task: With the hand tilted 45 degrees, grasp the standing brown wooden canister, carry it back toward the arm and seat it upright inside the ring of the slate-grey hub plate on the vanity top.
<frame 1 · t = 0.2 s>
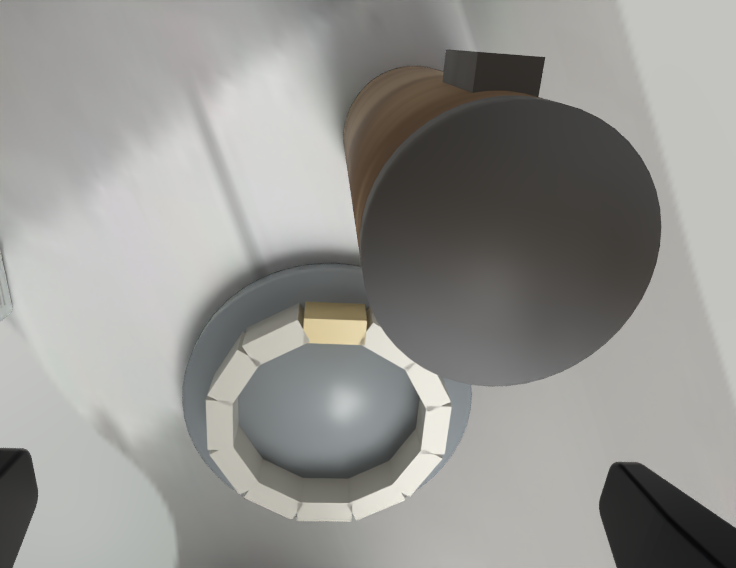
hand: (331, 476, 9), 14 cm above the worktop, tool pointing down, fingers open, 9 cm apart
hub: (329, 393, 25), on the worktop
brown wooden canister: (411, 138, 22), on the worktop
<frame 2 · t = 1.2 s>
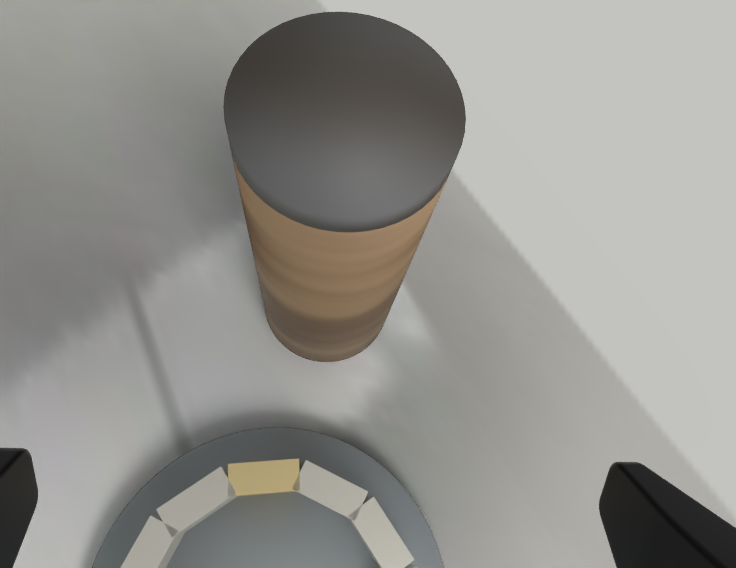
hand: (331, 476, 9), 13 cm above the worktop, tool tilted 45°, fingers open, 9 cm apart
brown wooden canister: (326, 301, 24), on the worktop
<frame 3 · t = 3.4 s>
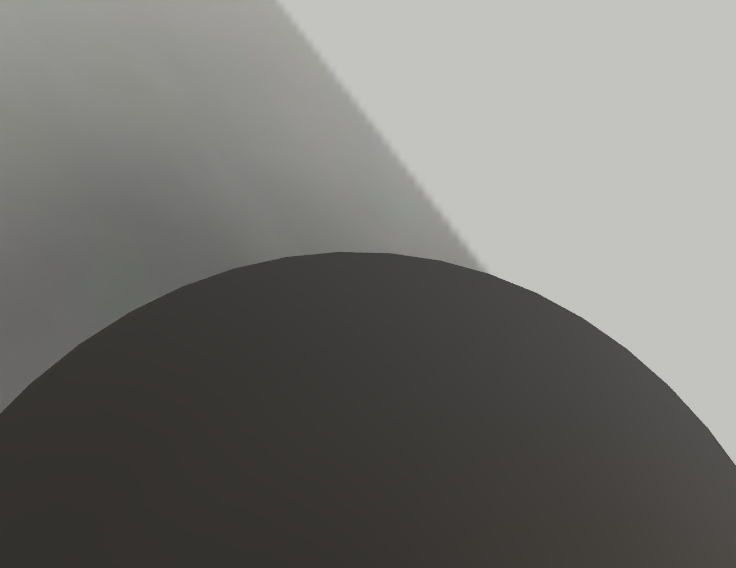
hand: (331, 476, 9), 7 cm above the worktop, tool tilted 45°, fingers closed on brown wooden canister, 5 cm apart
brown wooden canister: (318, 545, 15), on the worktop, touching gripper
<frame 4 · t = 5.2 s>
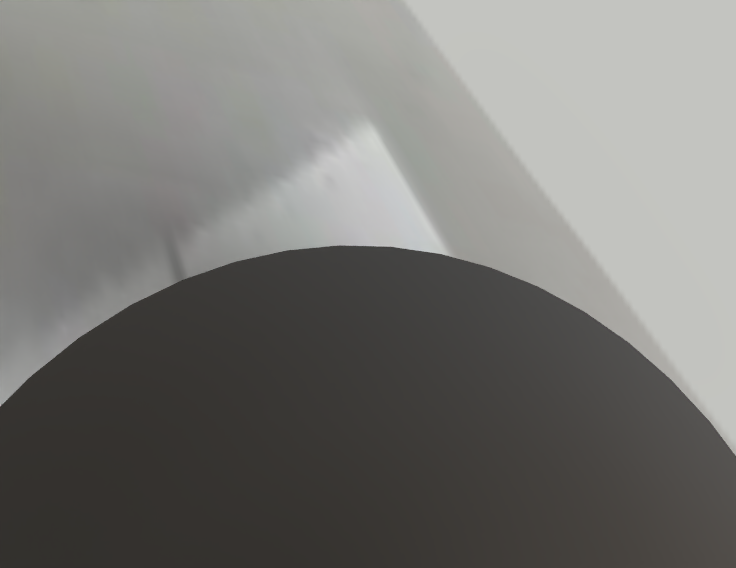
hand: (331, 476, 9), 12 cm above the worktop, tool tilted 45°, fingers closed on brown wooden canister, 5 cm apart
brown wooden canister: (319, 543, 15), point 5 cm above the worktop, touching gripper
when the fingers open (8 cm above the worktop, at t = 6.8 s): brown wooden canister stays where it is, resting on hub.
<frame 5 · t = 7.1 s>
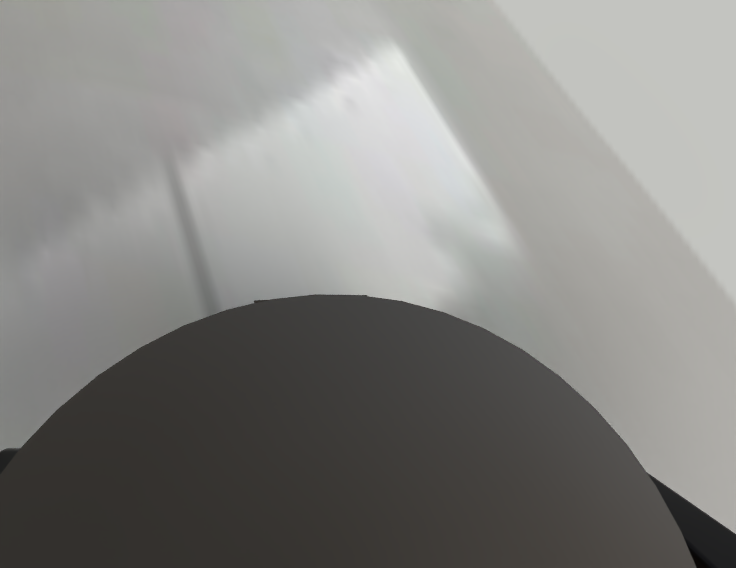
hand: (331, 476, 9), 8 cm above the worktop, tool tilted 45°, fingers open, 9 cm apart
brown wooden canister: (316, 546, 15), point 1 cm above the worktop, touching hub
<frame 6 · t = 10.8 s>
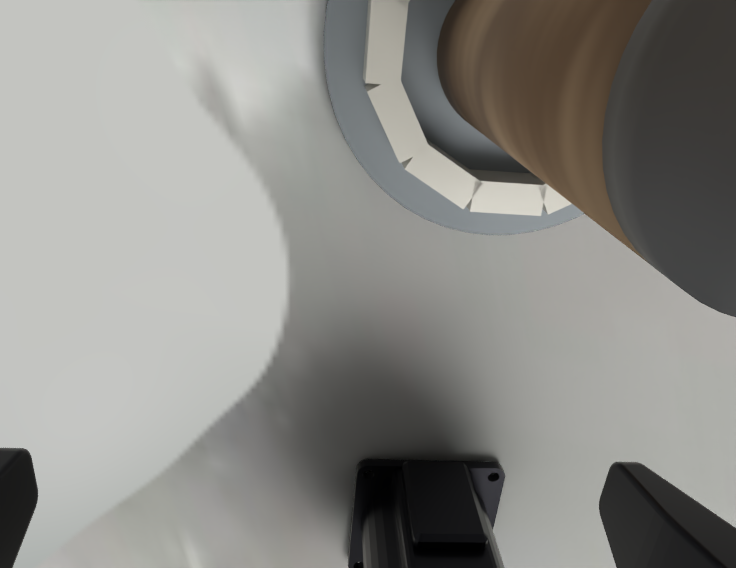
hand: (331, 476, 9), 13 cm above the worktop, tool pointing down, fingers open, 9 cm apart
hub: (510, 48, 19), on the worktop
brown wooden canister: (517, 53, 18), point 1 cm above the worktop, touching hub
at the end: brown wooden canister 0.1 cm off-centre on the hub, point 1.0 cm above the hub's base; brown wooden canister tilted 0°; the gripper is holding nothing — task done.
